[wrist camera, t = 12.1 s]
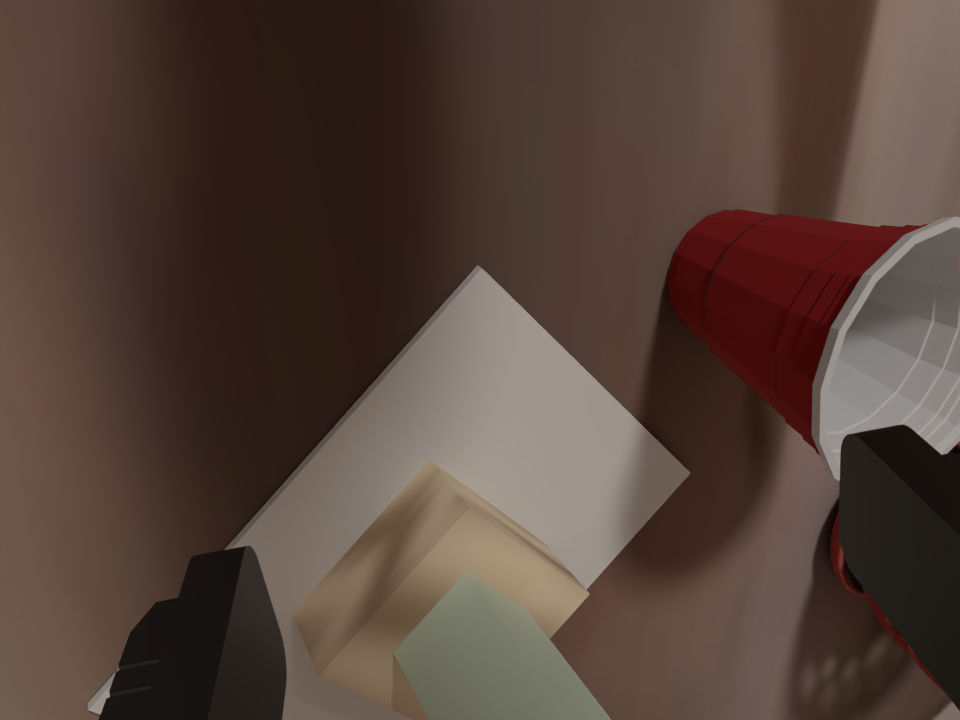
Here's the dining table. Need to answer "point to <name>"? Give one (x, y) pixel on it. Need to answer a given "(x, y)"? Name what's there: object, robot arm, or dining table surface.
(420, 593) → the oak slab
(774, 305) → the plastic cup
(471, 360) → the flat white board
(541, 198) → the dining table surface
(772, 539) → the dining table surface
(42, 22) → the dining table surface
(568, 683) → the sage pillar
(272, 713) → the robot arm
